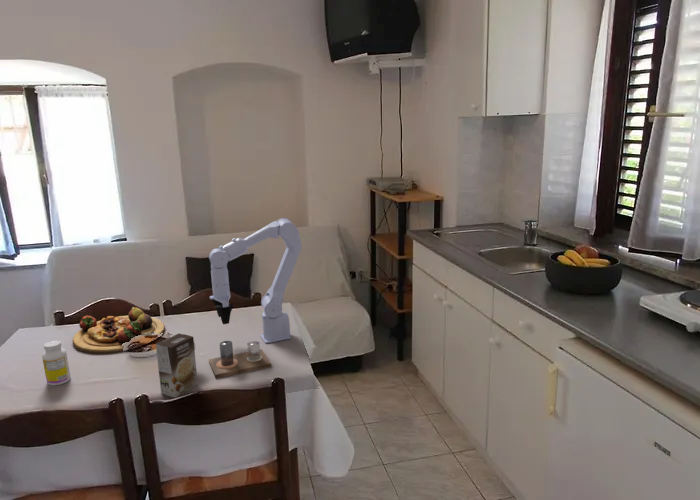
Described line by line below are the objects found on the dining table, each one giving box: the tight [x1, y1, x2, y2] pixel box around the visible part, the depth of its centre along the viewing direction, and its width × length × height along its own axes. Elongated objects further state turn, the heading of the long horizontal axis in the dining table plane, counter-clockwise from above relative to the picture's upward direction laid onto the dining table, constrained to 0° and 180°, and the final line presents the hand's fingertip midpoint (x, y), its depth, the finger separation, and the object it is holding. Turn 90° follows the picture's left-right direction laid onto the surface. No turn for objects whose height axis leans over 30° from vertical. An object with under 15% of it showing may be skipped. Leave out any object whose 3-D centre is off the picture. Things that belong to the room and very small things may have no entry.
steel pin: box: [219, 340, 234, 366], centre depth 177 cm, size 4×4×7 cm
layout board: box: [208, 340, 272, 379], centre depth 179 cm, size 18×12×6 cm, turn 114°
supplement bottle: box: [41, 340, 71, 387], centre depth 170 cm, size 7×7×13 cm
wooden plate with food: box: [72, 307, 166, 355], centre depth 205 cm, size 32×32×8 cm
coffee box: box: [155, 333, 199, 398], centre depth 163 cm, size 9×6×16 cm
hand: (223, 319), depth 193 cm, fingers open, 7 cm apart
